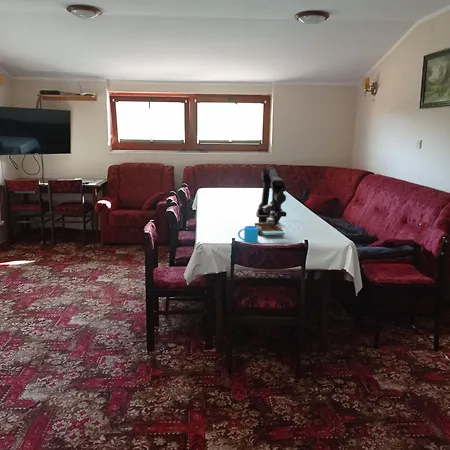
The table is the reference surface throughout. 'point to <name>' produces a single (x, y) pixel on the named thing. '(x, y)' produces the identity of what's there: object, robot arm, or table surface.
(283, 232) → the panel
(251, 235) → the mug
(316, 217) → the table surface
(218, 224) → the table surface
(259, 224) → the truck bed
